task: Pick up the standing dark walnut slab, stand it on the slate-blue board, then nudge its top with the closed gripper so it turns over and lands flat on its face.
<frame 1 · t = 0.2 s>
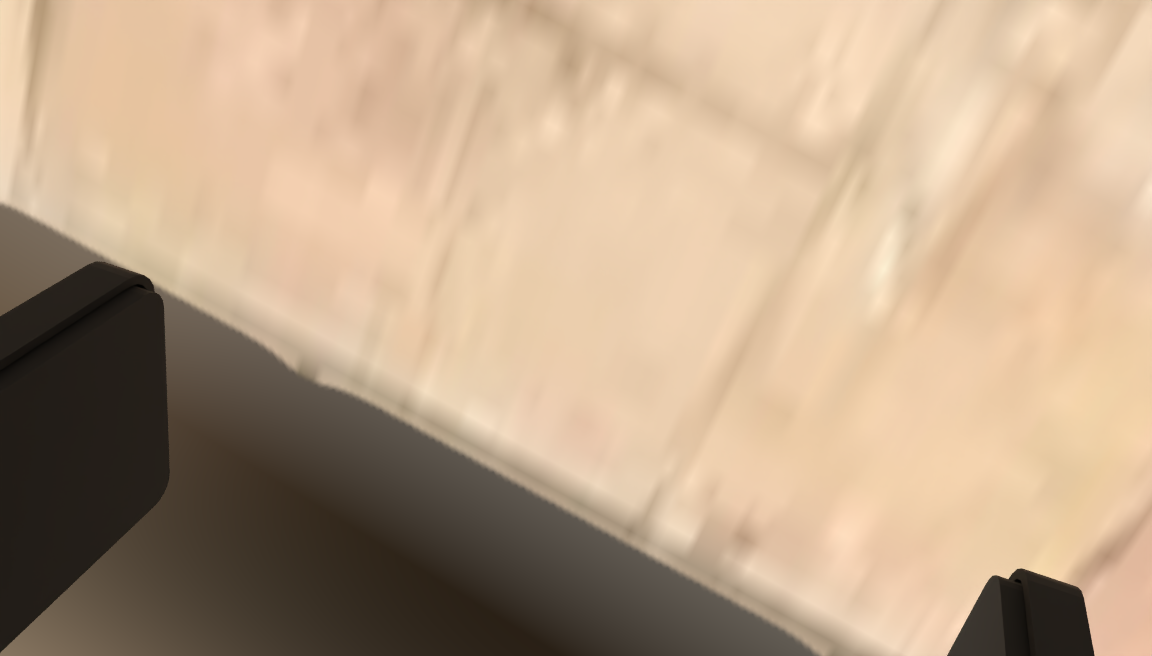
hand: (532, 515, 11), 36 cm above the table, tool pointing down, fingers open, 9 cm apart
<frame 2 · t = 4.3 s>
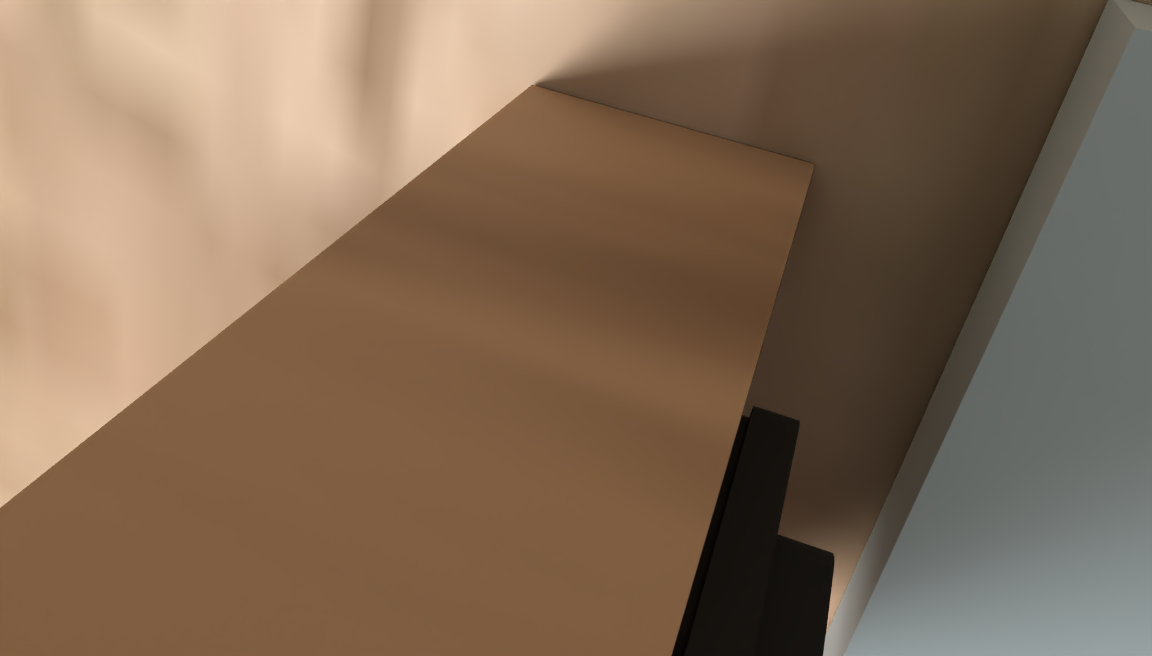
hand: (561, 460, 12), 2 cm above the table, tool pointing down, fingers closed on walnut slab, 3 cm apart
walnut slab: (612, 365, 14), on the table, touching gripper
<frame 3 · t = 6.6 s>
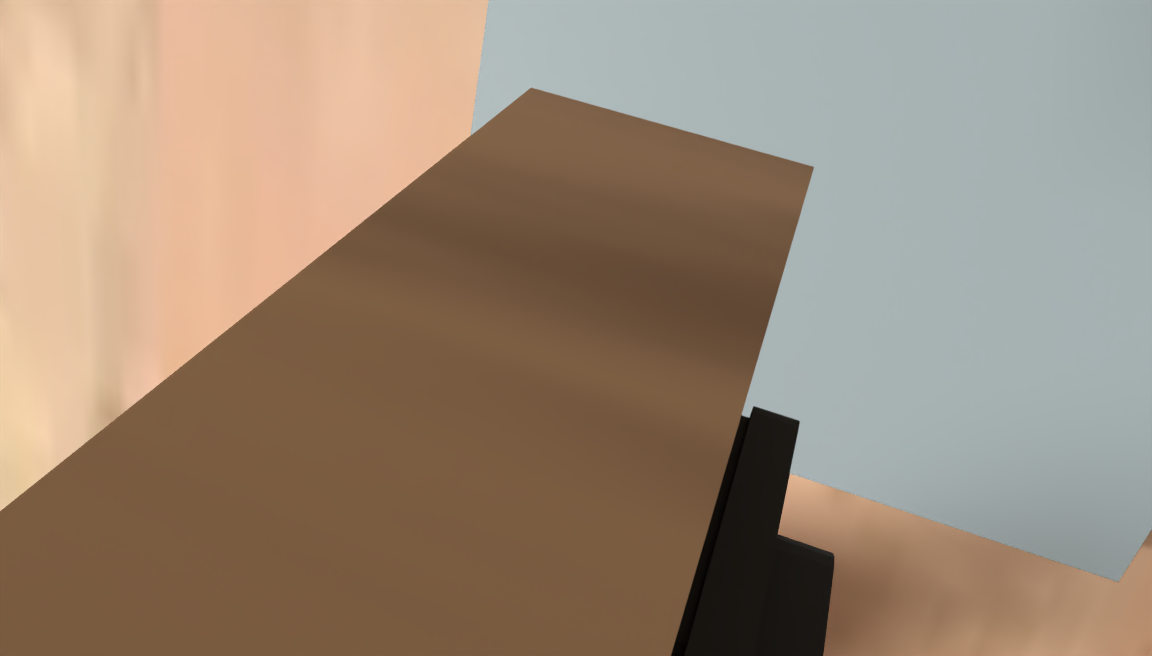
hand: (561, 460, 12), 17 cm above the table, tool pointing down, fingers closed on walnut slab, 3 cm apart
board: (878, 120, 26), on the table
walnut slab: (611, 368, 14), point 14 cm above the table, touching gripper
when the fingers open (4 cm above the table, at t = 9.1 s): walnut slab stays where it is, resting on board.
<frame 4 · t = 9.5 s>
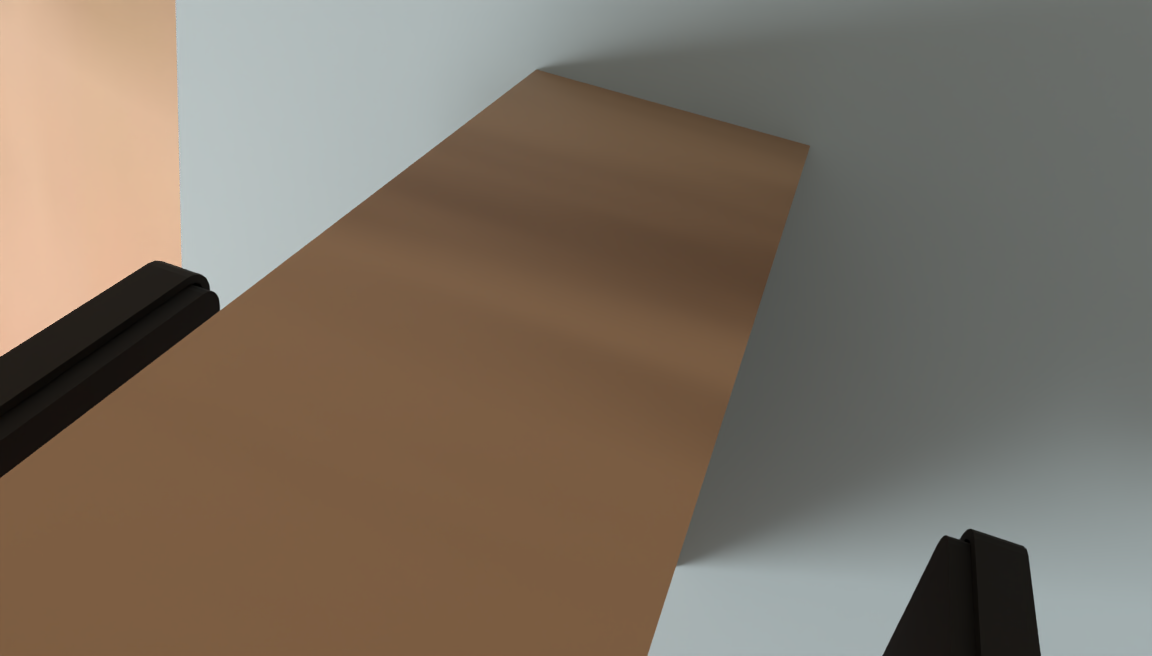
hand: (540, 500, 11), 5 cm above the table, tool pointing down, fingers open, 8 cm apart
board: (839, 362, 15), on the table
walnut slab: (613, 344, 14), point 1 cm above the table, touching board
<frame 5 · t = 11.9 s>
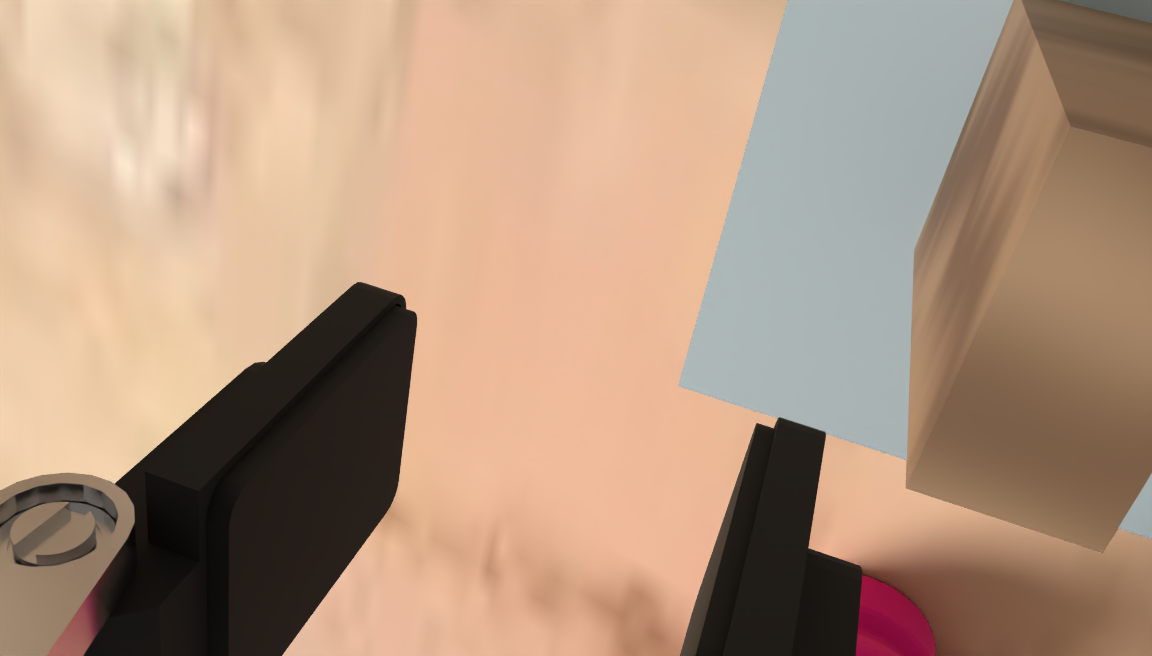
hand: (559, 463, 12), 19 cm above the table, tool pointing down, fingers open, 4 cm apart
board: (1148, 164, 27), on the table
pepper mill: (843, 633, 37), on the table
walnut slab: (1031, 147, 26), point 1 cm above the table, touching board
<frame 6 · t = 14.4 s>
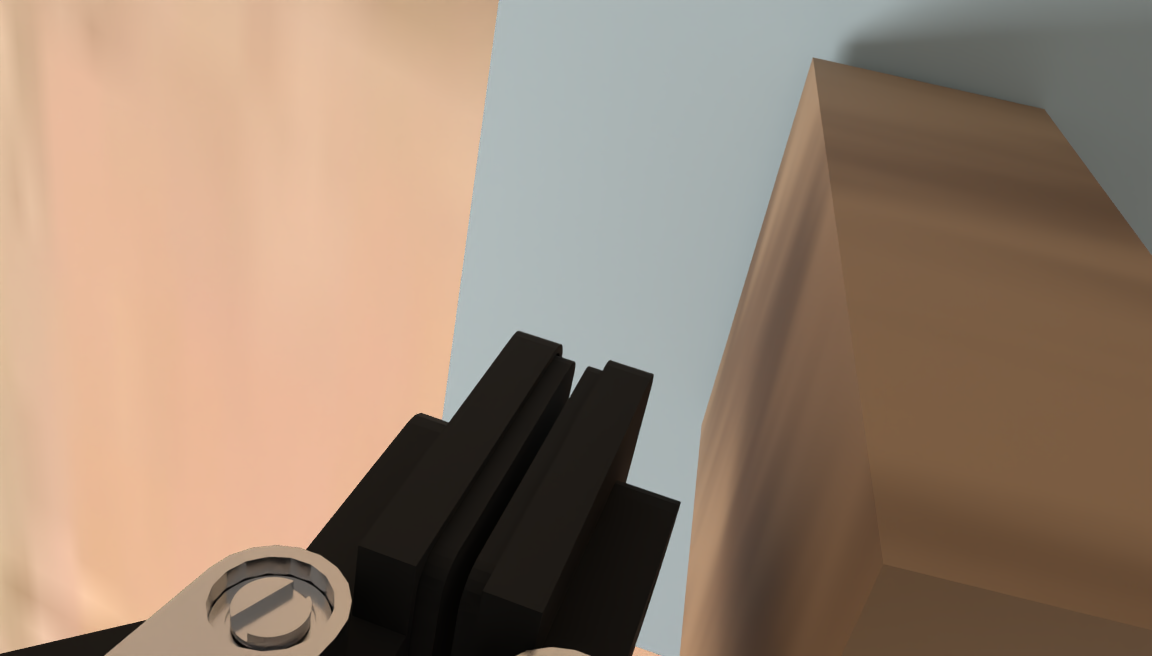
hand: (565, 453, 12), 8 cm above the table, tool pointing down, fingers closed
board: (1032, 295, 18), on the table
walnut slab: (854, 284, 17), point 2 cm above the table, tilted 8°, touching board
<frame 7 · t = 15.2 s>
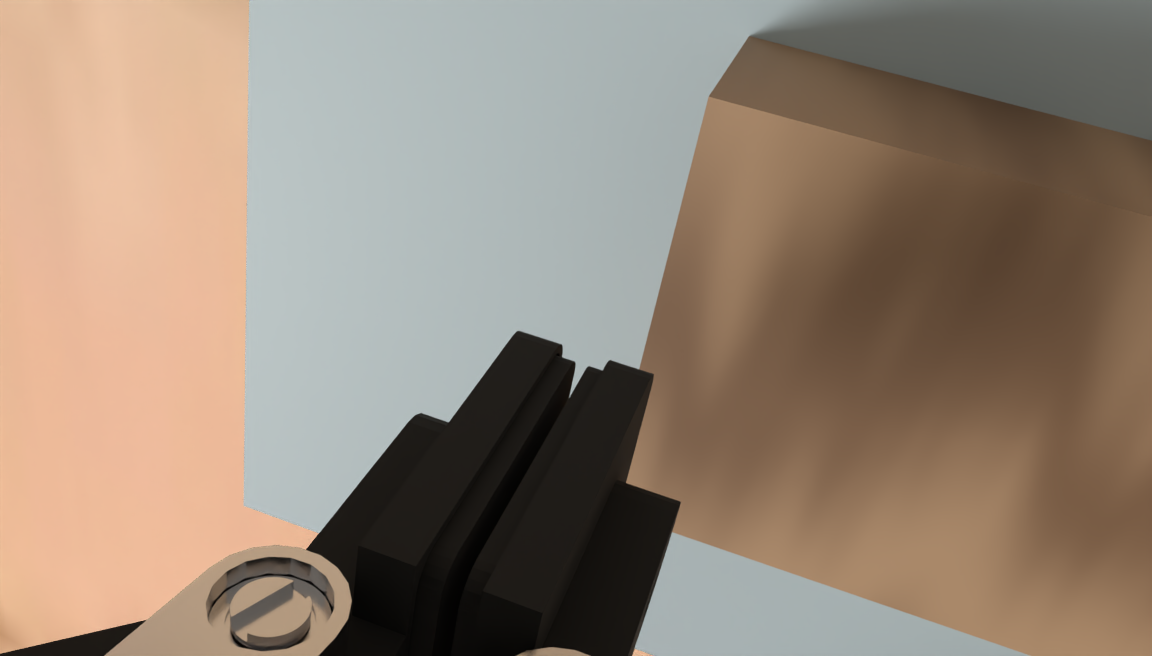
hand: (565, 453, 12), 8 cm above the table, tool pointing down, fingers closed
board: (778, 225, 19), on the table
walnut slab: (674, 277, 16), point 3 cm above the table, tilted 90°, touching board
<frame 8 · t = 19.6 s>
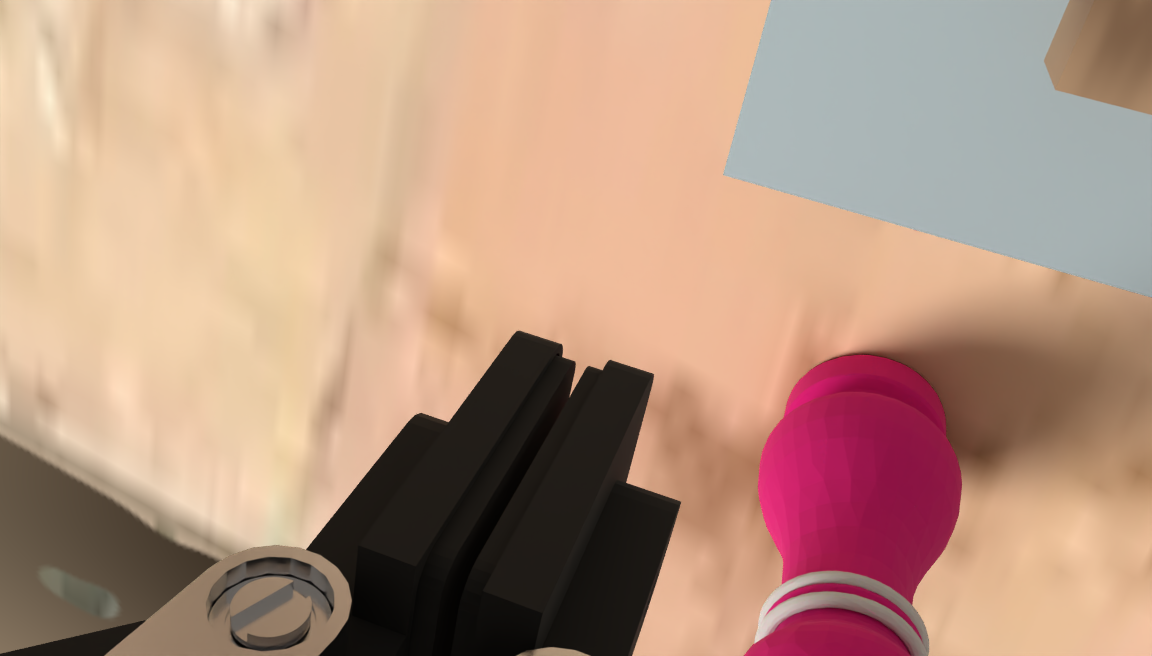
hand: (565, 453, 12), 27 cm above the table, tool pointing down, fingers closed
pepper mill: (864, 417, 42), on the table
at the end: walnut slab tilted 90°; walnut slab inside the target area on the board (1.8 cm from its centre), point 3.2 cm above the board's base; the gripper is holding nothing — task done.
